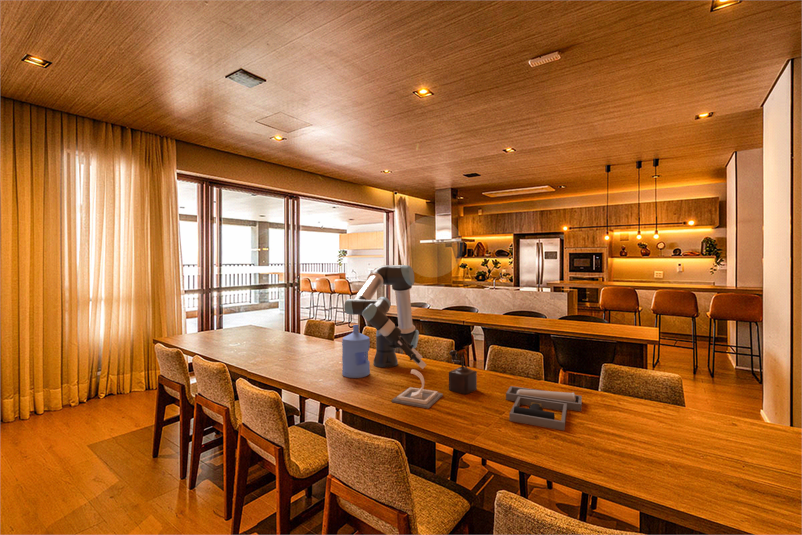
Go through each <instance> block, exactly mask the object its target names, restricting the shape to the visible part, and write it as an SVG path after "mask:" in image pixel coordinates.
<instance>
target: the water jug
mask: <svg viewBox="0 0 802 535" xmlns="http://www.w3.org/2000/svg"><path fill="white" fill-rule="evenodd" d="M352 326H353V328H352V329H353V330H352V332H351V333H349V334H347V335H345V336H343V337H342V341H341V347H342V348H341V349H342V353H341V354H342V358H341V360H342V363H341V364H342V369H341V371H342V372H341V374H342V376H343V377H345V378H348V379H360V378H365V377H368V376H369V375H370V373H371V369H370V368H371V367H370V366H371V365H370V360H369V351H370V348H371V347H370V344H371V341H370V337H369V336H367V335H365V334H364V333H361V332H359V330H360V329H359V324H353V325H352Z"/></svg>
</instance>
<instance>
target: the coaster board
mask: <svg viewBox="0 0 802 535" xmlns="http://www.w3.org/2000/svg"><path fill="white" fill-rule="evenodd" d="M420 389H421V388H418V387H411V386H410V387H408V388H406V389H405V390H403V391H402V392H400V393H399V394H398V395H397V396H395V397H394V398H392V399H391V403H393V404H394V403H395V404H401V405H407V406H413V407H418V408H424V409H430V408H431V407H433V405H434V404H435V403H436V402H437V401H439V400H440V399H441V398H442V397H443V396H444V395H443V394H444V393H441V392H439V391H437V390H431V389H424V388H423V391H422V398H411V394H412V393H414V392H417V391H419V390H420Z"/></svg>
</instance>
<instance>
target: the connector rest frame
mask: <svg viewBox="0 0 802 535" xmlns="http://www.w3.org/2000/svg"><path fill="white" fill-rule="evenodd" d="M531 402H534V403H540V404H542V408H543V409H548V410H554V411H561V420H558V419H555V420H553V419H547V418H541V417H535V416H529V415H523V414H517V413H514V407H515V406H516V407H520V406H521V405H523V406H529V407H530V405H531ZM567 412H568V409H567V403H560V402H553V401H546V400H540V399H533V398H526V397H519V396H518V397H517V399H516V401H514V403H513V405H512V408H511V409H510V412H509V414H508V416H509V418H508V419H509V422H514V423H518V424H519V423H521V424H526V425H531V426H537V427H543V428H548V429H553V430H559V431H565V428H566V420H567Z"/></svg>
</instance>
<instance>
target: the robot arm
mask: <svg viewBox="0 0 802 535" xmlns="http://www.w3.org/2000/svg"><path fill="white" fill-rule="evenodd" d="M414 284H415V273H414V269H413V267H412V266H411V265H408V264H407V265H406V264H405V265H404V264H383V265H381V266H379V267H376V268H374V269H373V270H372V271H371V272H370V273H369V274H368V276H367V279H366V281H365V283H364V284H363V286H362V287H361V288H360V289H359V291H358V292H357V293H356V295H355V296H354V297H353V298H348V299H346V300H345V301H344V306H343V309H344V312H345V314H346V315H356V316H357V315H360V316H362V317H363V318H364V319H365V320H366V321H367V322H368V323H369V324H370V325H371V326H372V327H373V328H375V329H376V334H375V343H376V344H375V346H376V347H375V348H376V350H375V355H374V358H373V366H375V367H377V368H393V367H396V366H398V357H397V354H396V350H395V349H401V350H402V351H403V352H404V353H405V354H406V355H407V357H409V360H410V361H413V362H414V363H415V364H416V365H417V366H418V367H419V368H421V369H422V370H424V368H425V367H427V363H426V362H425V361H423V360H422V358H423V355H422V354H420V353H419V351H417V349H416V348H417V347H418V342H419V337H420V336H419V335H420V332H419V330H418V329H417V328H416V326H415V325H414V324H413V313H412V305H411V304H412V302H411V292H410V290H411V289H412V287H413V286H414ZM382 286H391V288H392V290H393V291H394V293H395V302H396V312H397V313H396V314H397V324H398V326H397V325H395V322H393V321H392V320H391V319H390V318H389V317H388V316H387V314H388V312H390V308H391V301H390V299H389V298H388V297H386V296H379V297H378V298H377V299H372V298H373V297H374V295H375V293H376V292H377V290H379V288H381V287H382Z"/></svg>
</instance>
